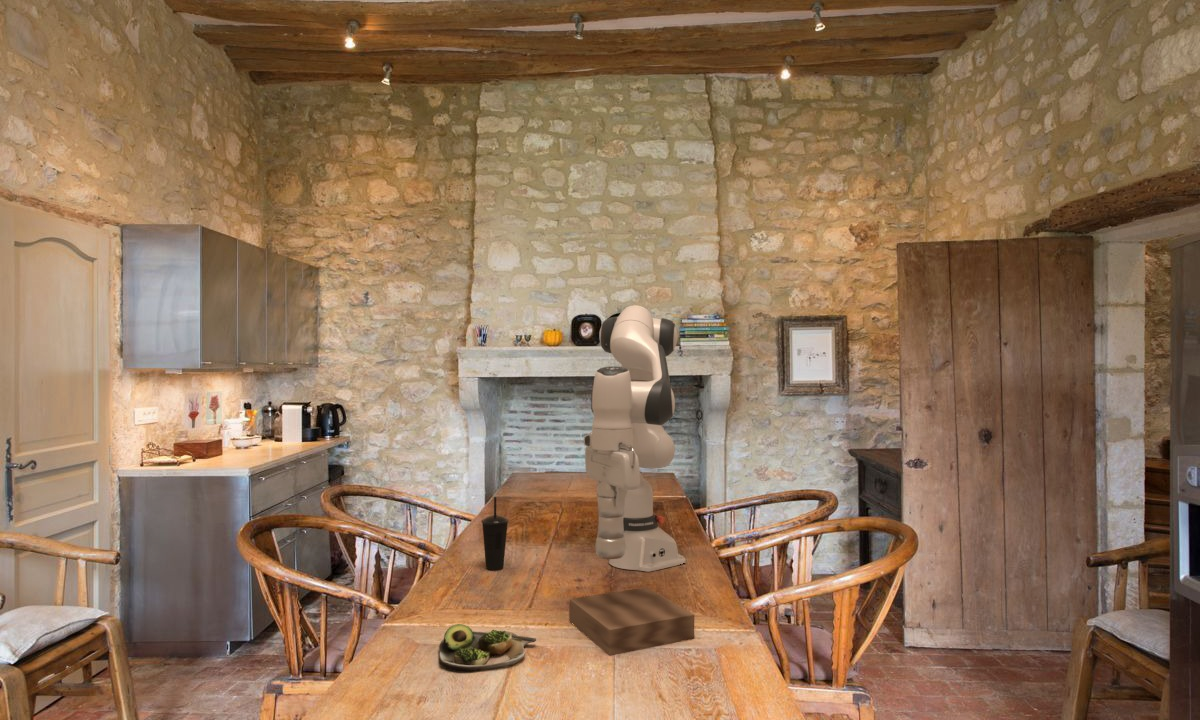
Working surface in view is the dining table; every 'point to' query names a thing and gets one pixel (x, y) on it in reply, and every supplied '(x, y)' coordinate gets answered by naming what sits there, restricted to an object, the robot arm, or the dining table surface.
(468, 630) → the avocado toast plate
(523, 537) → the dining table surface
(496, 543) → the drinking cup
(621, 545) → the plastic bottle
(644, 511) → the robot arm
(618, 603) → the walnut base
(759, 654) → the dining table surface
